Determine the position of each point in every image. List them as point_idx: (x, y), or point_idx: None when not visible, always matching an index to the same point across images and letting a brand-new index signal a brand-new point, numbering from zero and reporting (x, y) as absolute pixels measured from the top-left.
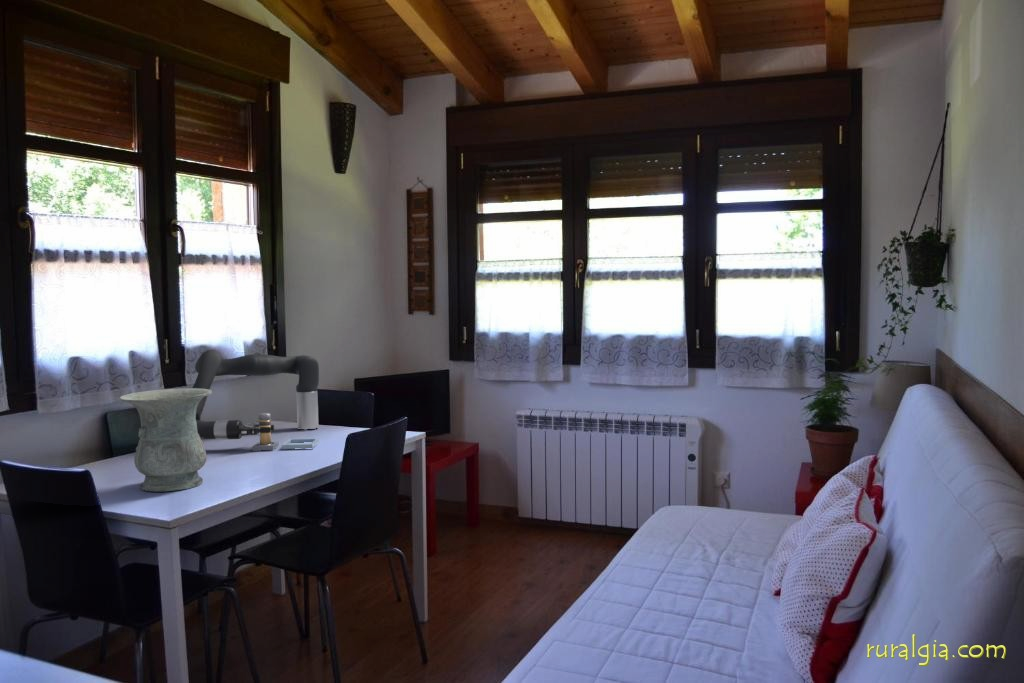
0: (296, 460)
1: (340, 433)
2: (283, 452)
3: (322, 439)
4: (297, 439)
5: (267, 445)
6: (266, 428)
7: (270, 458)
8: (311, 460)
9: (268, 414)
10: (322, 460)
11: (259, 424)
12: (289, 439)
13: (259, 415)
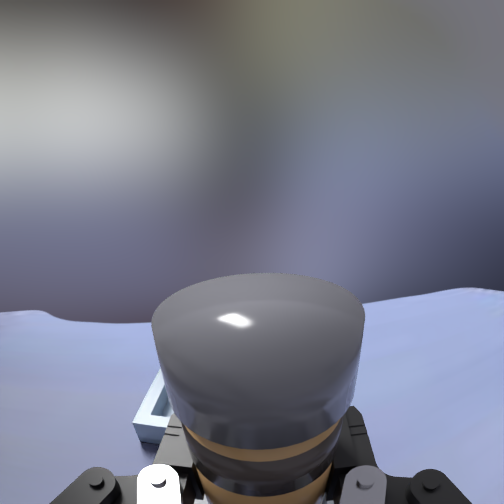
0: (479, 341)
1: (48, 320)
2: (375, 425)
3: (107, 349)
4: (161, 392)
5: (332, 501)
6: (352, 421)
7: (498, 414)
8: (460, 318)
9: (307, 278)
10: (448, 304)
11: (312, 475)
12: (144, 420)
13: (350, 353)
